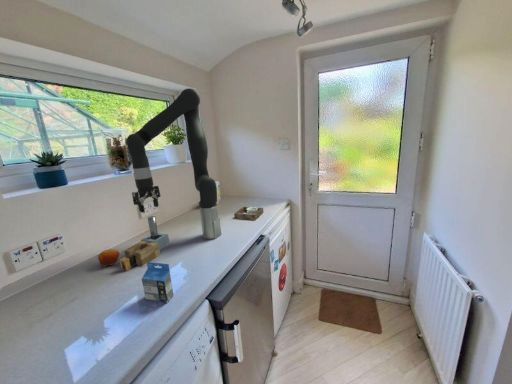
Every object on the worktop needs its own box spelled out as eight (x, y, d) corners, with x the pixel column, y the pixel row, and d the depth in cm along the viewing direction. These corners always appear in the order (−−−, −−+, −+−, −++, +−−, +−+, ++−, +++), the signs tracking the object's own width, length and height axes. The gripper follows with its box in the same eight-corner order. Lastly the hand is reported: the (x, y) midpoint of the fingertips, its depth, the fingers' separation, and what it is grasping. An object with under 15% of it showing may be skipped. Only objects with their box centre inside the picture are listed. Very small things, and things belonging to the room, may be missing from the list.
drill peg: (161, 243, 118) (157, 216, 114) (156, 247, 115) (151, 218, 111) (156, 242, 119) (151, 215, 116) (150, 246, 116) (145, 218, 113)
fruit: (97, 269, 96) (95, 251, 98) (101, 270, 103) (99, 253, 105) (119, 264, 100) (116, 246, 102) (121, 265, 107) (119, 248, 109)
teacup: (252, 211, 163) (252, 205, 162) (262, 214, 156) (262, 208, 155) (242, 215, 156) (241, 209, 155) (252, 218, 149) (252, 212, 148)
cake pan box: (212, 208, 175) (210, 186, 171) (206, 208, 176) (204, 186, 172) (221, 201, 193) (219, 181, 189) (215, 201, 194) (213, 181, 190)
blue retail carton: (144, 300, 78) (138, 268, 75) (152, 292, 82) (146, 261, 79) (167, 303, 76) (162, 270, 73) (174, 295, 80) (169, 263, 77)
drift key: (142, 260, 104) (140, 251, 103) (126, 270, 97) (124, 260, 95) (137, 259, 105) (135, 250, 104) (121, 269, 98) (119, 259, 97)
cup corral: (263, 212, 159) (263, 207, 158) (255, 220, 146) (255, 215, 145) (243, 211, 165) (243, 206, 164) (234, 218, 151) (234, 213, 150)
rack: (169, 243, 120) (168, 234, 118) (156, 252, 112) (154, 241, 110) (156, 241, 123) (154, 232, 122) (142, 249, 115) (140, 239, 114)
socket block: (159, 254, 109) (157, 243, 107) (142, 265, 100) (140, 253, 98) (144, 251, 113) (142, 240, 111) (126, 262, 104) (123, 250, 102)
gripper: (136, 180, 101) (143, 214, 105) (160, 174, 113) (166, 205, 117) (124, 180, 104) (131, 213, 108) (149, 174, 116) (154, 204, 120)
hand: (149, 209), depth 112 cm, fingers open, 8 cm apart
